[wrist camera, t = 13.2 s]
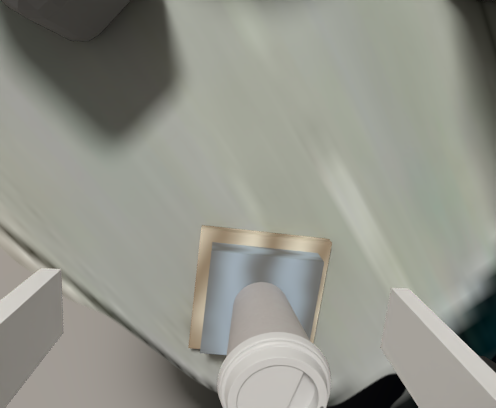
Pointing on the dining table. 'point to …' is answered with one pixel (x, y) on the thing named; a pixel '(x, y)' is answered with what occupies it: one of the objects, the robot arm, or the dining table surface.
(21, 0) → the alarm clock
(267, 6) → the dining table surface
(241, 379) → the coffee cup
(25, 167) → the dining table surface
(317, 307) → the pedestal
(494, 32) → the dining table surface
